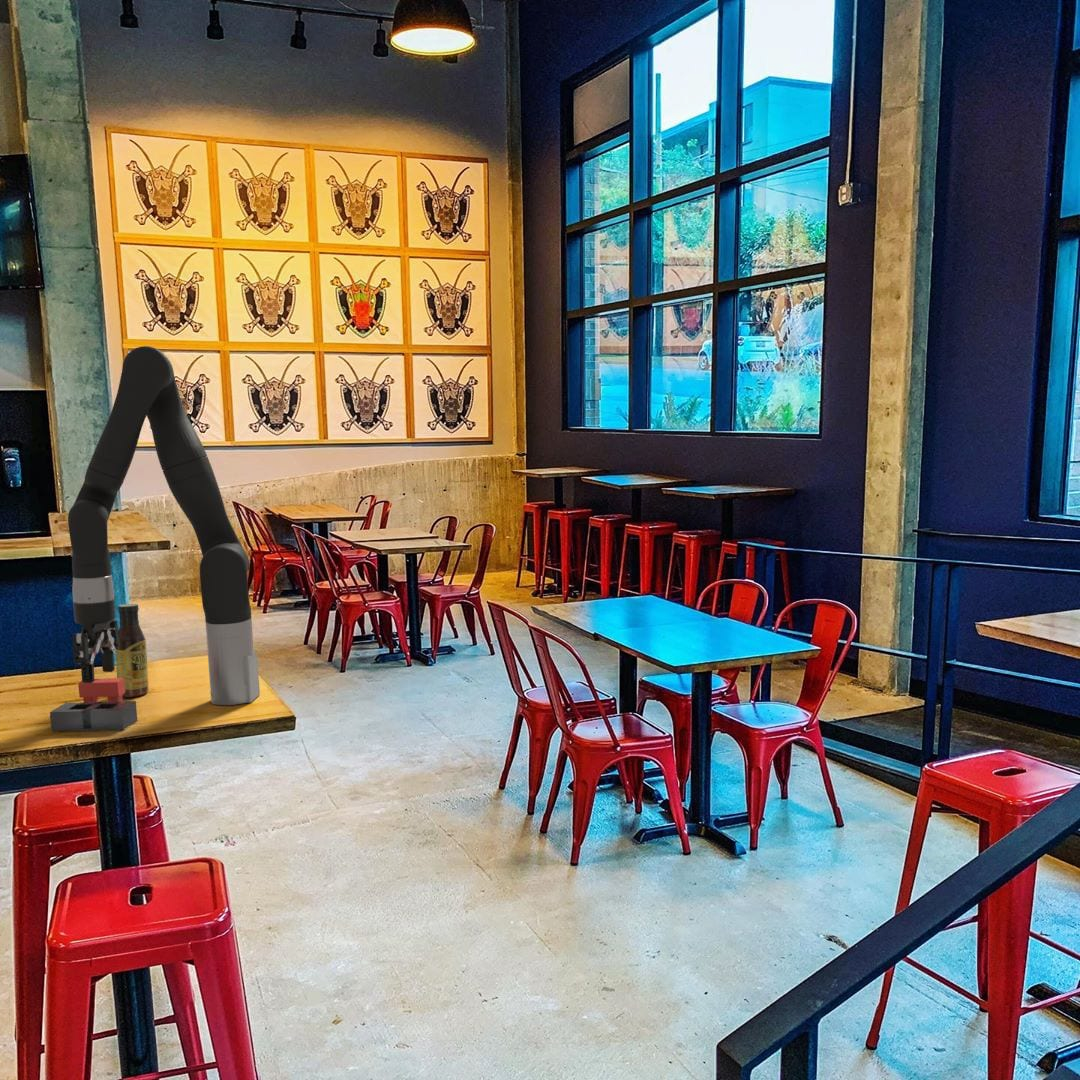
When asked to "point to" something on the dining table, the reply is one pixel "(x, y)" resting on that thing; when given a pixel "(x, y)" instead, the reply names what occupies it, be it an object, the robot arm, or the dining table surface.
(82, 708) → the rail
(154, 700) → the dining table surface
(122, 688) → the red block
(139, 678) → the sauce bottle
